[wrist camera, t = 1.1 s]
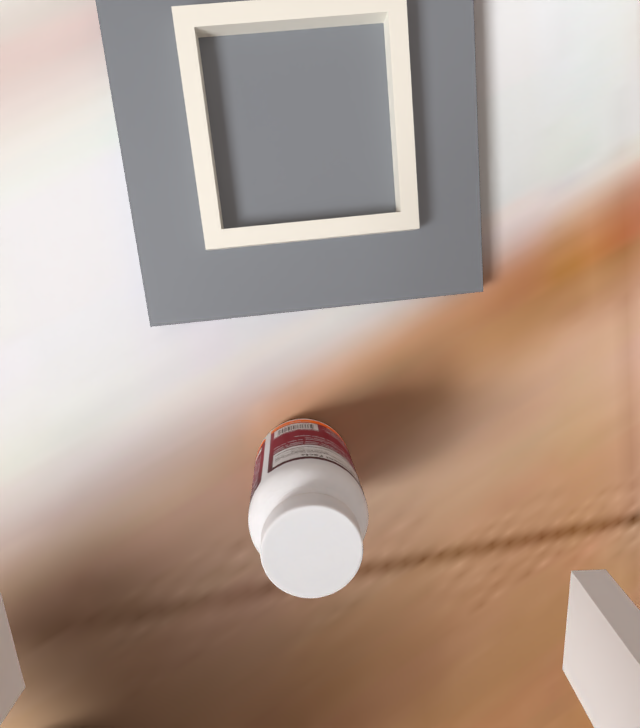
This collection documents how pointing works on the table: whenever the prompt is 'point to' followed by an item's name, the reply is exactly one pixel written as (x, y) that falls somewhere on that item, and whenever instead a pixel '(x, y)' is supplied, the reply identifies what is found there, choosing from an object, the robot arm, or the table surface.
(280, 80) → the locating plate
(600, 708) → the robot arm
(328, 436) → the pill bottle
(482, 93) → the table surface
